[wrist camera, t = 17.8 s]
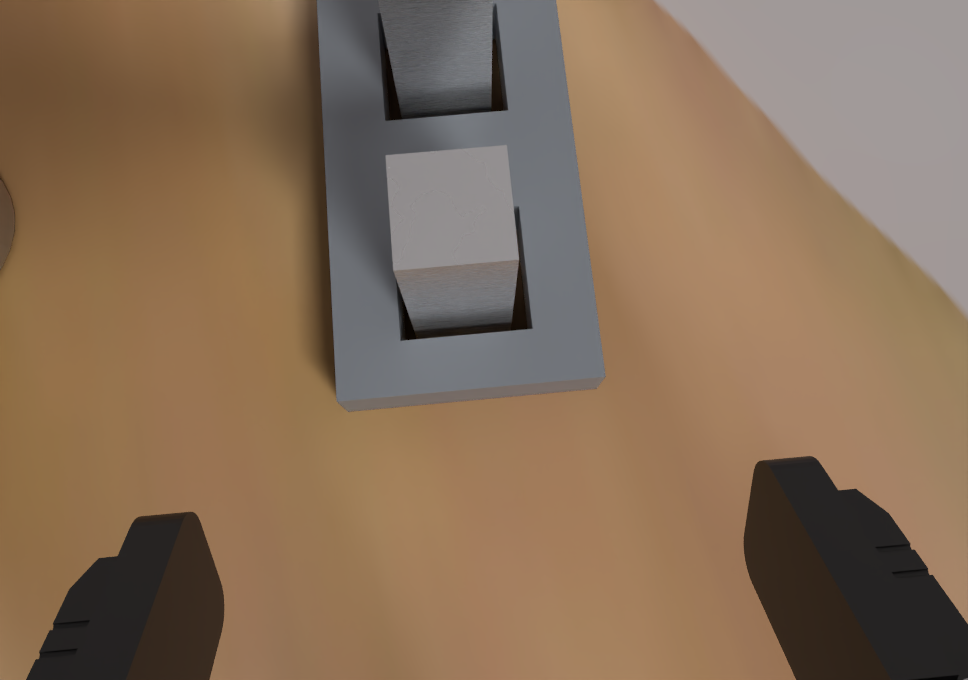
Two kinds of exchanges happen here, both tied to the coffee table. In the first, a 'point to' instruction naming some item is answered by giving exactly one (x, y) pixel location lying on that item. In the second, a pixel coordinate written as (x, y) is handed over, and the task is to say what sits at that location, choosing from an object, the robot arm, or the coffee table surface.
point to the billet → (454, 239)
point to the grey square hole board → (537, 209)
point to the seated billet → (440, 55)
